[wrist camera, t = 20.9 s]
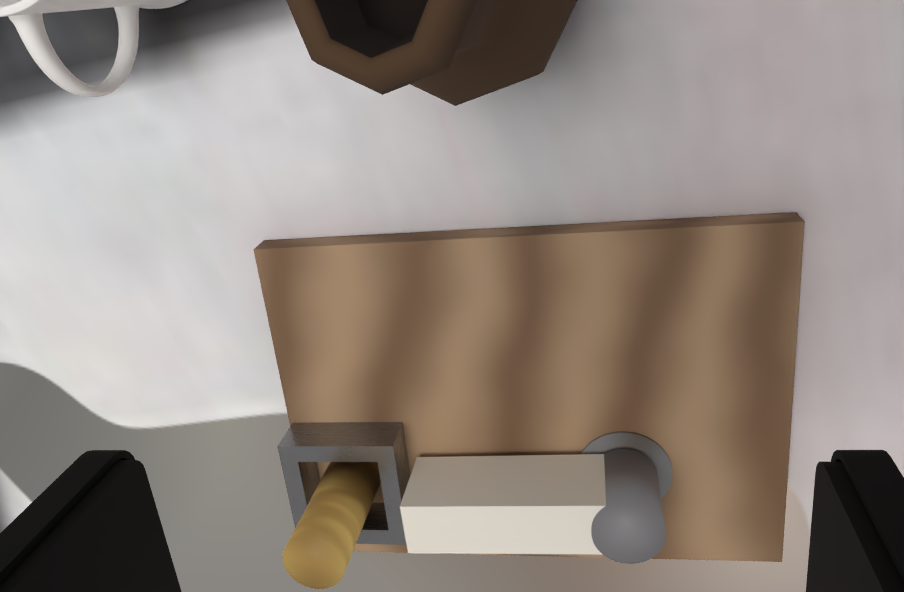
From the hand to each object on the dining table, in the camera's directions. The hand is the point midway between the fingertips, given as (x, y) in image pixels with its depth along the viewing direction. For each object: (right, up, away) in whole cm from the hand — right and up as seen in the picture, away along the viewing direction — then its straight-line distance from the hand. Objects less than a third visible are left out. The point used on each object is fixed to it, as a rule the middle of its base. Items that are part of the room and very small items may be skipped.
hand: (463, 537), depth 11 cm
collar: (-6, -7, +35) cm, 37 cm away
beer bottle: (+2, +18, +26) cm, 31 cm away
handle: (+5, -7, +33) cm, 34 cm away
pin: (-6, -7, +35) cm, 37 cm away
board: (+4, -2, +33) cm, 34 cm away
